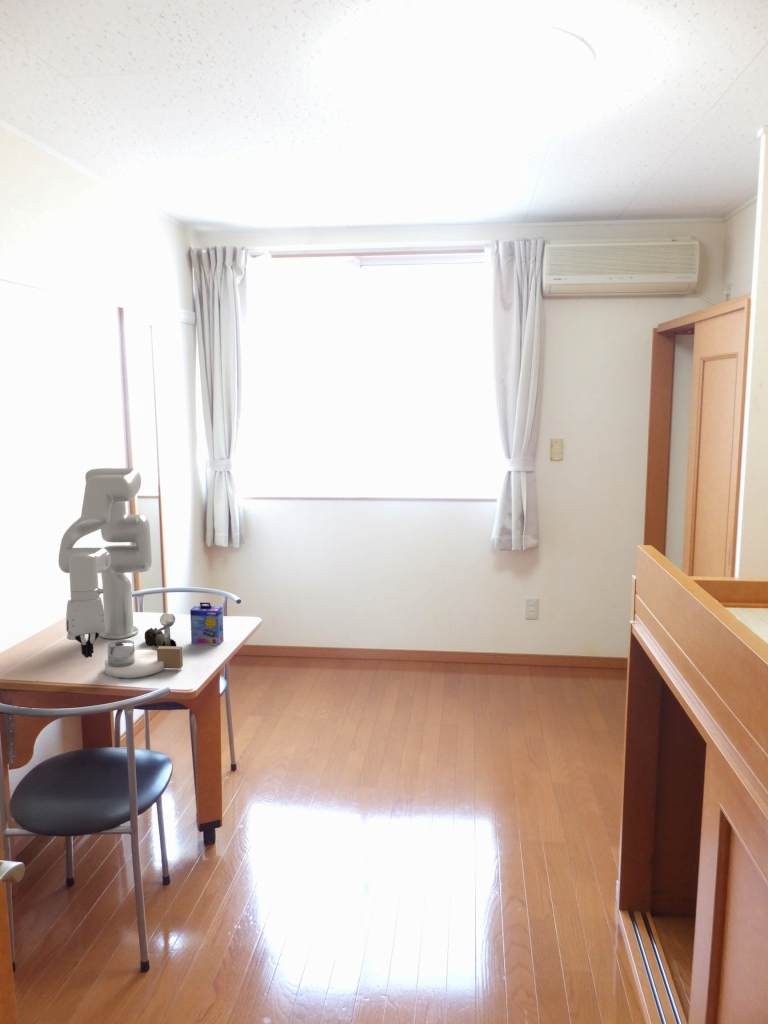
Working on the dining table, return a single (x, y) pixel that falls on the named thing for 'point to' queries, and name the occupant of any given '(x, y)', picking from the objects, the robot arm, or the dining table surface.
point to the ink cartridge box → (206, 624)
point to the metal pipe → (156, 638)
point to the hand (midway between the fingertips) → (87, 656)
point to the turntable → (149, 662)
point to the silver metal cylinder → (121, 653)
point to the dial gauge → (166, 626)
